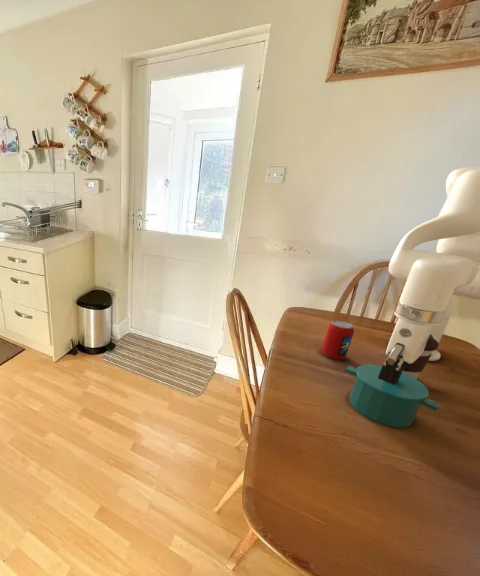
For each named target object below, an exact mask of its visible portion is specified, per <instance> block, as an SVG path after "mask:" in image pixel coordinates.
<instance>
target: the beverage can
mask: <svg viewBox="0 0 480 576" xmlns="http://www.w3.org/2000/svg"><path fill="white" fill-rule="evenodd" d="M354 334H355V329H354V325H353V324H352V323H350V322H348V321H345V320H341V319H335V320H332V321H331V322H330V323H329V324H328V326H327V329H326V333H325V337H324V340H323V343H322V347H321V349H320V350H321V353H322V354H323V355H324V356H325V357H327V358H329V359H332V360H344V359H346V356H347V354H348V351H349V350H350V349H349V348H350V346H351V343H352V339H353V337H354Z"/></svg>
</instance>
